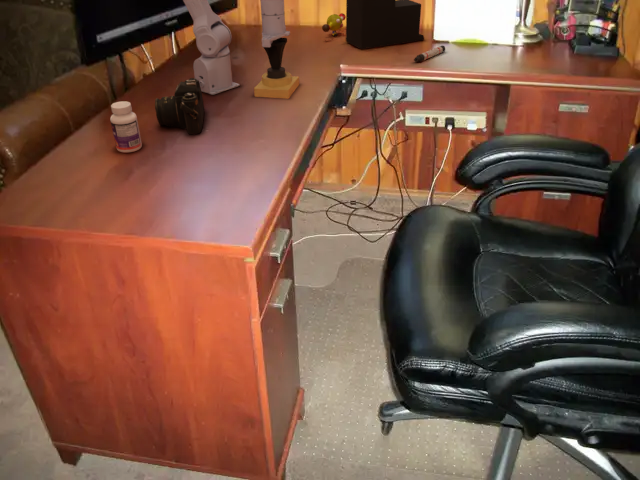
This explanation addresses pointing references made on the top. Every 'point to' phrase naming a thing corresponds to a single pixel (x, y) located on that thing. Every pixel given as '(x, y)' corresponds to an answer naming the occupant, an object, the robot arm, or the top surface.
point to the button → (276, 73)
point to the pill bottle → (125, 127)
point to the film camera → (182, 107)
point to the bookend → (382, 22)
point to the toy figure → (334, 23)
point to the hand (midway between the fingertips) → (276, 68)
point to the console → (276, 86)
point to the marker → (429, 53)
